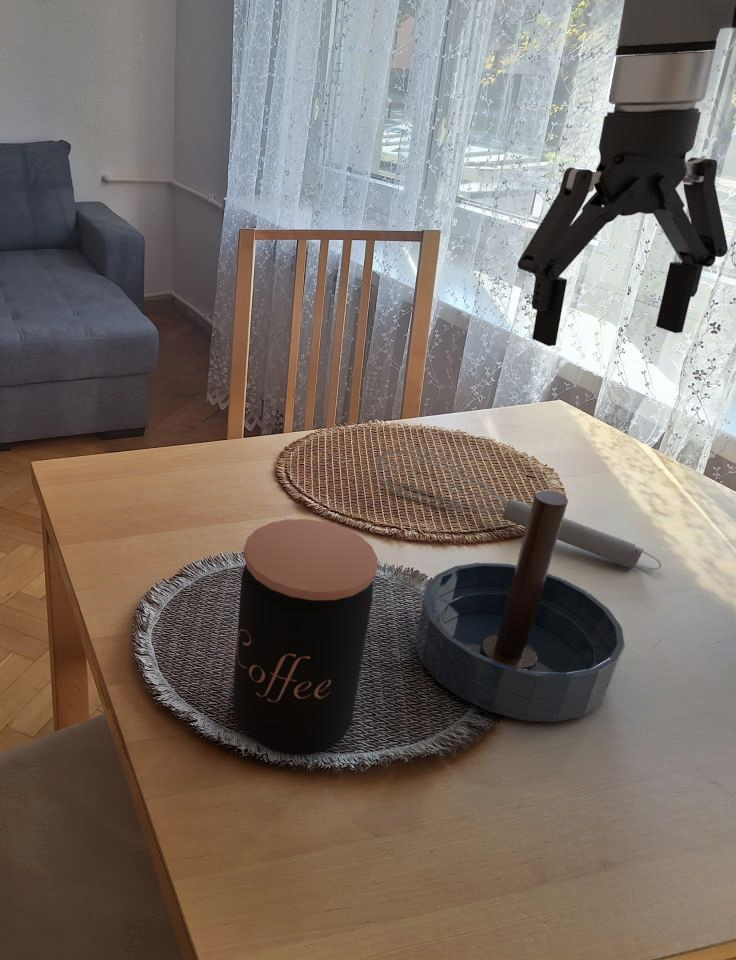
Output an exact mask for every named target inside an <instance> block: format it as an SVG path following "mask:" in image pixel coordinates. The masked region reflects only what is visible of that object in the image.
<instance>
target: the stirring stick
mask: <svg viewBox="0 0 736 960" xmlns="http://www.w3.org/2000/svg"><path fill="white" fill-rule="evenodd" d="M568 503H569V500H568V498H567V497H566V496H565V495H564V494H563V493H560V492H557V491H553V490H539V491H536V492H535V494H534V497H533V501H532V504H531V506H532V508H531V512H530V516H529V520H528V523H527V527H525V531H524V535H523V539H522V543H521V545H520V546H521V547H520V550H519V554H518V558H517V561H516V564H515V565H516V569H515V573H514V576H513V580H512V584H511V588H510V592H509V595H508V599H507V603H506V607H505V611H504V614H503V618H502V622H501V626H500V630H499V633H498V634H495V635H490V636H488V637H486V638H485V639H484V640H483V642H482V644H481V649H480V652H481V655H483V656H486V657H488V658H490V659H493V660H495V661H497V662H500V663H502V664H505V665H509V666H513V667H517V668H522V669H526V670H530V671H531V670H533V669H534V668H535V666H536V663H537V658H538V657H537V653H536V651H535V650H534V648H533V647H532V646H531V645H530V644H528V639H529V636H530V632H531V629H532V625H533V622H534V618H535V615H536V611H537V608H538V604H539V601H540V597H541V594H542V590H543V587H544V583H545V580H546V576H547V573H548V572H549V569H550V565H551V562H552V559H553V555H554V552H555V548H556V545H557V541H558V540H557V538H558V534H559V531H560V527H561V524H562V520H563V518H565V513H566V510H567V508H568V507H567V506H568ZM548 574H549V573H548Z"/></svg>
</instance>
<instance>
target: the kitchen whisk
mask: <svg viewBox="0 0 736 960" xmlns="http://www.w3.org/2000/svg"><path fill="white" fill-rule="evenodd" d="M401 447H406V448H412V449H417V450H419V451H423V452H425V453H428V454H432V455H433V456H435V457H436V458H437V457H438V458H439V459H442V460H443V461H445V462H447V463H449V464H451V465H452V466H454V467H456V468H458V469H460V470H461V471H463V472H464V473H466V474H468V475H469V476H468V475H466V474H464V473H462V472H461V471H460V470H459V471H458V470H457V469H456V468H453V467H451V466H449V465H447V464H445V463H443V462H440V461H439V460H436V459H434V458H432V457H429V456H426V455H424V454H422V453H417V452H414V451H413V452H412V451H409V450H394V451H392V449H394V448H401ZM394 453H396V454H401V455H402V454H403V455H406V456H409V457H413V458H415V459H418V460H420V461H423V462H425V463H428V464H430V465H432V466H434V467H437V468H439V469H441V470H442V471H445V472H447V473H449V474H450V475H451V474H452V475H453V476H454V477H457V478H459V479H461V480H462V481H465V482H466V483H468V484H470V485H472V486H474V487H475V488H477V489H479V490H481V491H482V492H485V493H486V494H488V495H490V496H491V497H493V498H495V499H496V500H498V501H500V503H498V502H497V501H493V500H491V499H489V498H487V497H485V496H482V495H479V494H477V493H475V492H473V491H470V490H468V489H465V488H463V487H459V486H457V485H456V484H452V483H450V482H447V481H445V480H442V479H440V478H437V477H435V476H433V475H430V474H427V473H424V472H422V471H419V470H416V469H414V468H411V467H408V466H405V465H403V464H400V463H397V462H394V461H389V460H385V459H384V458H385V457H386V456H387V455H389V454H394ZM415 455H418V456H420V457H422V458H420V457H417V456H415ZM423 457H424V458H426V459H429V460H431V461H434V462H436V463H438V464H441V465H443V466H445V467H447V468H449V469H450V470H452V471H454V472H456V473H458V474H460V475H462V476H464V477H465V478H467V479H469V480H471V481H472V482H474V483H475V484H474V483H472V482H470V481H469V480H467V479H465V478H463V477H461V476H459V475H458V474H456V473H454V472H451V471H450V470H447V469H445V468H443V467H442V466H440V465H437V464H435V463H433V462H430V461H428V460H426V459H423ZM376 462H377V464H376V465H375V470H376V474H377V476H378V477H379V478H380V480H381V482H382V483H383V484H384V485H385V486H386V487H387V488H388V489H390V490H391V491H392V492H395V493H396V494H398V495H400V496H403V497H405V498H408V499H410V500H413V501H415V502H420V503H424V504H427V505H432V506H436V507H440V508H446V509H452V510H459V511H466V512H474V513H484V514H495V515H502V519H503V520H506V521H508V522H511V523H513V524H516V525H518V526H521V527H524V528H526V527H527V523H528V520H529V516H530V512H531V508H532V504H529V503H528V504H527V503H525V502H522V501H520V500H517V499H515V498H510V500H507V499H506V498H504V497H503V496H502V495H501V494H499V493H498V492H497V491H495V490H494V489H493V488H491V487H490V486H489V485H487V484H486V483H484V482H483V481H481V480H480V479H479V478H477V477H475V476H474V475H472V474H471V473H470V472H468V471H466V470H465V469H463V468H462V467H460V466H458V465H456V464H454V463H452V462H451V461H450V460H447V459H446V458H443V457H442V456H440V455H438V454H435V453H433V452H431V451H428V450H426V449H423V448H420V447H416V446H411V445H406V444H405V445H404V444H403V445H393V446H391V447H390V448H388V449H386V450H385V451H384V452H383V453H382V454H381V457H380V458H379V459H377V460H376ZM383 462H386V463H391V464H393V465H397V466H399V467H402V468H405V469H408V470H412V471H414V472H417V473H419V474H421V475H425V476H428V477H429V478H432V479H435V480H437V481H440V482H443V483H445V484H447V485H450V486H453V487H455V488H458V489H460V490H462V491H465V492H467V493H470V494H472V495H475V496H477V497H480V498H482V499H480V498H477V497H474V496H472V495H469V494H466V493H463V492H460V491H457V490H454V489H451V488H448V487H445V486H443V485H440V484H437V483H434V482H432V481H430V480H426V479H424V478H421V477H418V476H415V475H413V474H410V473H407V472H405V471H402V470H399V469H397V468H395V467H392V466H390V465H387V464H385V463H383ZM380 466H381V470H383V472H384V473H385V474H386V475H387V476H388V477H390V478H391V479H392V480H394V481H395V482H397V483H398V484H400V485H403V486H404V487H406V488H409V489H411V490H414V491H415V492H419V493H421V494H425V495H428V496H431V497H434V498H436V499H434V498H431V497H427V496H423V495H420V494H417V493H413V492H411V491H408V490H405V489H402V488H400V487H397V486H395V485H394V484H392V483H390V482H388V481H386V480H385V479H384V478H383V477H382V476H381V472H380ZM383 466H385V467H387V468H390V469H392V470H395V471H396V472H399V473H402V474H405V475H407V476H410V477H412V478H415V479H418V480H421V481H422V482H426V483H428V484H432V485H435V486H437V487H440V488H443V489H445V490H448V491H452V492H453V493H454V492H455V493H457V494H460V495H463V496H465V497H469V498H472V499H474V500H477V501H480V502H484V503H486V504H489V505H492V506H494V507H497V508H500V509H494V508H489V507H484V506H479V505H473V504H469V503H465V502H460V501H456V500H452V499H448V498H444V497H441V496H437V495H433V494H430V493H427V492H425V491H421V490H419V489H417V488H413V487H411V486H408V485H407V484H405V483H402V482H400V481H399V480H397V479H396V478H394V477H393V476H391V475H390V474H389V473H388V472H387V471H386V469H385V468H384V467H383ZM470 476H471V477H472V478H473V479H472V478H471V477H470ZM476 484H477V485H476ZM390 486H391V487H390ZM479 486H480V487H479ZM392 487H393V488H395V489H397V490H400V491H402V492H405V493H407V494H409V495H414V496H417V497H419V498H422V499H427V500H431V501H436V502H438V503H444V504H448V505H454V506H457V507H453V506H445V505H440V504H435V503H430V502H426V501H423V500H419V499H416V498H412V497H411V496H407V495H405V494H403V493H400V492H398V491H397V490H395V489H393V488H392ZM481 487H482V488H481ZM486 490H487V491H486ZM437 498H438V499H441V500H438V499H437ZM483 499H484V500H483ZM443 500H445V501H443ZM447 501H448V502H447ZM501 503H503V504H501ZM458 507H463V508H458ZM465 508H468V509H465ZM474 509H475V510H474ZM501 509H503V510H501ZM557 541H560V542H563V543H565V544H568V545H570V546H573V547H575V548H578V549H581V550H583V551H586V552H587V553H591V554H594V555H596V556H599V557H601V558H603V559H606V560H609V561H612V562H614V563H617V564H619V565H622V566H626V565H627V566H629V567H631V568H636V567H637V568H641V569H642V568H643V569H647V570H660V568H661V567H662V563H661V561H659V560H658V559H657V558H656V557H654V555H651V554H649V553H647V552H646V551H644V548H642V547H639V546H636V544H635V543H632V542H630V541H628V540H626V539H625V540H624V539H622V538H620V537H617V536H614V535H612V534H610V533H609V534H608V533H606V532H603V531H601V530H598V529H595V528H592V527H590V526H587V525H584V524H582V523H579V522H576V521H574V520H570V519H568V518H566V517H563V520H562V524H561V527H560V531H559V534H558V538H557ZM643 553H644V554H645V555H647V556H649V557H650V558H651V559H654V560H655V561H656V562H657V563H658V564H659V566H658V567H646V566H641V565H638V562H639V560H640V559H641V556H642V554H643Z"/></svg>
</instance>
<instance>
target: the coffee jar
mask: <svg viewBox="0 0 736 960" xmlns="http://www.w3.org/2000/svg"><path fill="white" fill-rule="evenodd" d="M243 559H244V563H245V564H244V567H243V570H242V572H241V579H240V591H239V592H240V593H239V605H238V607H239V608H238V619H237V634H236V635H237V636H236V646H235V647H236V648H235V661H234V673H233V675H234V676H233V686H232V705H233V711H234V715H235V716H236V718H237V720H238V722H239V723H240V724H241V726H242V728H243V729H244V730H245V731H246V732H247V734H248V735H249V736H251V737H252V738H253V739H254V740H255V741H256V742H258V743H259V744H260V745H262V746H264V747H266V748H268V749H270V750H272V751H274V752H277V753H282V754H287V755H292V756H299V755H300V756H301V755H303V756H305V755H309V756H310V755H312V754H316V753H317V754H318V753H320V752H323V751H326V750H327V749H329V748H330V747H332V746H334V745H335V744H336V743H339V742H340V741H341V740H342V739H343V738H344V737H345V735H346V734H347V733H348V731H349V729H350V728H351V726H352V722H353V717H354V710H355V705H356V699H357V692H358V686H359V681H360V675H361V669H362V662H363V657H364V651H365V646H366V640H367V633H368V627H369V621H370V615H371V609H372V604H373V597H374V579H375V578H376V576H377V575H376V574H377V571H378V561H379V559H378V556H377V554H376V552H375V550H374V548H373V546H372V545H371V544H370V543H368V541H366V539H364V537H362V536H361V535H360V534H357V533H356V532H354V531H352V530H350V529H348V528H346V527H345V526H344V527H343V526H341V525H337V524H334V523H331V522H329V521H323V520H317V519H316V520H315V519H310V518H309V519H308V518H290V519H284V520H279V521H272V522H269V523H267V524H265V525H262V526H261V527H258V528H257V529H255V530H254V531H253V532H252V533H251V534H250V535H249V536H248V537H247V538H246V541H245V544H244V548H243Z"/></svg>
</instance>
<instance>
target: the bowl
mask: <svg viewBox="0 0 736 960" xmlns="http://www.w3.org/2000/svg"><path fill="white" fill-rule="evenodd" d="M516 565H517V564H511V563H506V562H505V563H503V562H501V563H500V562H472V563H467V564H466V563H465V564H460V565H455V566H453V567H449V568H447V569H446V570H444V571H441V572H439V573H437V574H435V576H434V577H433V578H432V579H431V581H429V582H428V584H427V585H426V586H425V588H424V593H423V598H422V603H421V607H420V613H419V617H418V621H417V628H416V634H415V639H414V645H415V649H416V652H417V654H418V657H419V660H420V662H421V664H422V665H423V666H424V667H425V669H426V670H427V671H428V672H429V673H430V675H431V676H432V677H433V678H434V679H435V681H437V682H438V683H439V684H440V685H441V686H443V687H444V688H445V689H447V690H448V691H450V692H451V693H453V694H454V695H455V696H457V697H458V698H460V699H462V700H464V701H466V702H468V703H470V704H473V705H475V706H476V707H479V708H482V709H484V710H485V711H488V712H491V713H493V714H497V715H502V716H505V717H509V718H513V719H517V720H521V721H525V722H526V721H527V722H545V723H546V722H547V723H548V722H549V723H556V722H557V723H559V722H562V721H567V720H572V719H573V720H574V719H578V718H583V717H585V716H587V715H588V714H589V713H591V712H593V711H594V710H596V709H598V708H599V707H601V706H602V705H603V702H604V701H605V698H606V697H607V695H608V693H609V690H610V688H611V686H612V683H613V680H614V677H615V675H616V672H617V668H618V667H619V663H620V662H621V661H620V660H621V658H622V655H623V652H624V649H625V645H626V644H625V640H624V638H625V637H624V632H623V627H622V625H621V624H620V622H619V621H618V620H617V618H616V617H615V615H614V614H613V613H612V610H610V609H609V608H608V607H607V606H606V605H604V603H602V602H601V601H600V600H599V599H597V598H596V597H595V596H594V595H592V594H591V593H590V592H589V591H586V590H585V589H583V588H580V587H579V586H578V585H575V584H574V583H571V582H570V581H568V580H566V579H564V578H561V577H558V576H556V575H553V574H551V573H547V576H546V580H545V583H544V587H543V590H542V594H541V597H540V601H539V604H538V608H537V611H536V615H535V618H534V622H533V625H532V629H531V632H530V636H529V639H528V644H530V645H531V646H532V647H533V648H534V650H535V651H536V653H537V657H538V658H537V663H536V666H535V668H534V669H533V670H531V671H530V670H526V669H522V668H517V667H513V666H509V665H505V664H502V663H500V662H497V661H495V660H493V659H490V658H488V657H486V656H483V655H481V652H480V649H481V644H482V642H483V640H484V639H485V638H486V637H488V636H490V635H495V634H498V633H499V630H500V626H501V622H502V618H503V614H504V611H505V607H506V603H507V599H508V595H509V592H510V588H511V584H512V580H513V576H514V573H515V569H516Z"/></svg>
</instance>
